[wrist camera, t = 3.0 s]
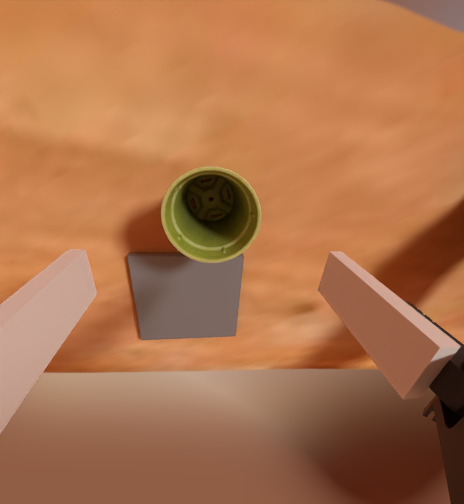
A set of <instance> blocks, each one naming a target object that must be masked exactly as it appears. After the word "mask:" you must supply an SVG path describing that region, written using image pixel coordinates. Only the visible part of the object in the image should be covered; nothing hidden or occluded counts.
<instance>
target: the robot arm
mask: <svg viewBox="0 0 464 504" xmlns="http://www.w3.org/2000/svg"><path fill="white" fill-rule="evenodd" d="M318 291H319V292H320V293H321V295H322V296H323V297H324V298H325V300H326V301H327V302H328V304H329V305H330V306H331V307H332V309H333V310H334V311H335V313H336V314H337V315H338V316H339V318H340V319H341V320H342V322H343V323H344V324H345V326H346V327H347V328H348V329H349V331H350V332H351V333H352V335H353V336H354V337H355V338H356V340H357V341H358V342H359V344H360V345H361V346H362V347H363V349H364V350H365V351H366V353H367V354H368V355H369V356H370V358H371V359H372V360H373V362H374V363H375V364H376V365H377V367H378V368H379V369H380V371H381V372H382V373H383V374H384V375H385V377H386V378H387V380H388V381H389V382H390V384H391V385H392V386H393V387H394V389H395V390H396V391H397V393H398V394H399V395H400V396H401V398H402V399H413V398H421V397H422V396H423V394H424V393H425V392H426V391H427V389H428V388H429V387H430V389H431V390H432V391H433V392H434V393H435V394H436V396H435V397H434V398H433V400H432V401H431V402H430V403H429V404H428V406H427V407H426V408H425V409H424V411H423V416H425V417H427V416H428V415H429V414H430V413H431V411H434V413H435V416H434V417H433V419H432V420H433V421H435V422H436V424H437V430H438V435H439V441H440V446H441V452H442V457H443V462H444V468H445V473H446V479H447V484H448V490H449V495H450V501H451V504H464V345H463V344H462V343H461V342H459V341H458V340H457V339H456V338H454V337H453V336H452V335H450V334H449V333H448V332H447V331H445V330H444V329H443V328H441V327H440V326H439V325H438V324H436V323H435V322H432V320H431V319H430V318H429V317H427V316H426V315H423V313H422V312H421V311H420V310H418V309H417V308H416V307H415V306H413V305H412V304H410V303H408V302H406V301H405V300H403V299H401V298H400V297H398V296H397V295H396V294H395V293H393V292H392V291H391V290H389V289H388V288H387V287H386V286H384V285H383V284H382V283H381V282H379V281H378V280H377V279H376V278H374V277H373V276H372V275H371V274H369V273H368V272H367V271H366V270H364V269H363V268H362V267H360V266H359V265H358V264H357V263H355V262H354V261H353V260H352V259H350V258H349V257H348V256H347V255H345V254H344V253H343V252H329V255H328V259H327V262H326V265H325V268H324V272H323V275H322V278H321V282H320V285H319V288H318ZM96 295H97V292H96V288H95V284H94V280H93V277H92V273H91V269H90V265H89V261H88V257H87V254H86V250H85V249H68V250H67V251H66V252H65V253H63V254H62V255H61V256H60V257H58V258H57V259H56V260H55V261H54V262H52V263H51V264H50V265H49V266H47V267H46V268H45V269H44V270H42V271H41V272H40V273H39V274H37V275H36V276H35V277H34V278H32V279H31V280H30V281H29V282H28V283H26V284H25V285H24V286H23V287H21V288H20V289H19V290H18V291H16V292H15V293H14V294H13V295H11V296H10V297H9V298H8V299H6V300H5V301H4V302H3V303H1V304H0V434H1V432H2V431H3V429H4V428H5V426H6V425H7V423H8V422H9V421H10V419H11V418H12V416H13V415H14V413H15V412H16V410H17V409H18V407H19V406H20V405H21V403H22V402H23V400H24V399H25V397H26V396H27V395H28V393H29V392H30V390H31V389H32V387H33V386H34V384H35V383H36V382H37V380H38V378H39V377H40V376H41V374H42V373H43V371H44V370H45V369H46V367H47V366H48V364H49V363H50V361H51V360H52V358H53V357H54V356H55V354H56V353H57V351H58V350H59V348H60V347H61V345H62V344H63V343H64V341H65V340H66V338H67V337H68V335H69V334H70V332H71V331H72V329H73V328H74V327H75V325H76V324H77V322H78V321H79V319H80V318H81V316H82V315H83V314H84V312H85V311H86V309H87V308H88V306H89V305H90V303H91V302H92V301H93V299H94V298H95V296H96Z"/></svg>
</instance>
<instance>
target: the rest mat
mask: <svg viewBox="0 0 464 504" xmlns="http://www.w3.org/2000/svg"><path fill="white" fill-rule="evenodd" d="M127 257H128V263H129V269H130V275H131V281H132V287H133V293H134V299H135V305H136V311H137V317H138V323H139V329H140V335H141V340H159V339H182V338H205V337H228V336H236V326H237V317H238V307H239V297H240V288H241V278H242V269H243V259H244V256H243V254H240V255H238V256H237V257H235V258H233V259H230V260H227V261H224V262H219V263H206V262H200V261H196V260H193V259H191V258H189V257H187V256H186V255H184V254H182V253H129V254H128V256H127Z"/></svg>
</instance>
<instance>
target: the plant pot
mask: <svg viewBox="0 0 464 504" xmlns="http://www.w3.org/2000/svg"><path fill="white" fill-rule="evenodd" d="M206 178H210V179H211V181H206V182H203V183H201V180H205V179H206ZM226 189H228V190H229V192H230V196H231V197H230V199H228V194H227V190H226ZM211 197H212V198H213V201H210V200H209V198H211ZM192 198H194V203H195V205H196V208H194V207H193V206H192V202H191V199H192ZM220 213H221V215H220V216H218V217H215V218H213V217H211V216H212V215H217V214H220ZM161 221H162V225H163V229H164V231H165V233H166V235H167V237H168V239H169V240H170V242H171V243H172V245H173V246H174V247H175V248H176V249H177V250H178V251H180V252H181V253H182V254H184V255H186V256H187V257H189V258H191V259H193V260H196V261H200V262H206V263H219V262H224V261H227V260H230V259H233V258H235V257H237V256H238V255H240V254H241V253H243V252H244V251H245V250H246V249H247V248H248V247H249V246H250V245H251V244H252V242H253V241H254V239H255V237H256V236H257V234H258V231H259V228H260V224H261V207H260V203H259V200H258V197H257V195H256V193H255V191H254V190H253V188H252V187H251V186H250V184H249V183H248V182H247V181H246V180H245V179H244V178H242V177H241V176H240V175H238V174H236V173H235V172H233V171H231V170H228V169H225V168H221V167H214V166H207V167H200V168H196V169H193V170H190V171H188V172H186V173H184V174H183V175H181V176H180V177H178V178H177V179H176V180H175V181H174V182H173V183H172V184H171V186H170V187H169V189H168V190H167V192H166V194H165V196H164V198H163V202H162V206H161Z"/></svg>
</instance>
